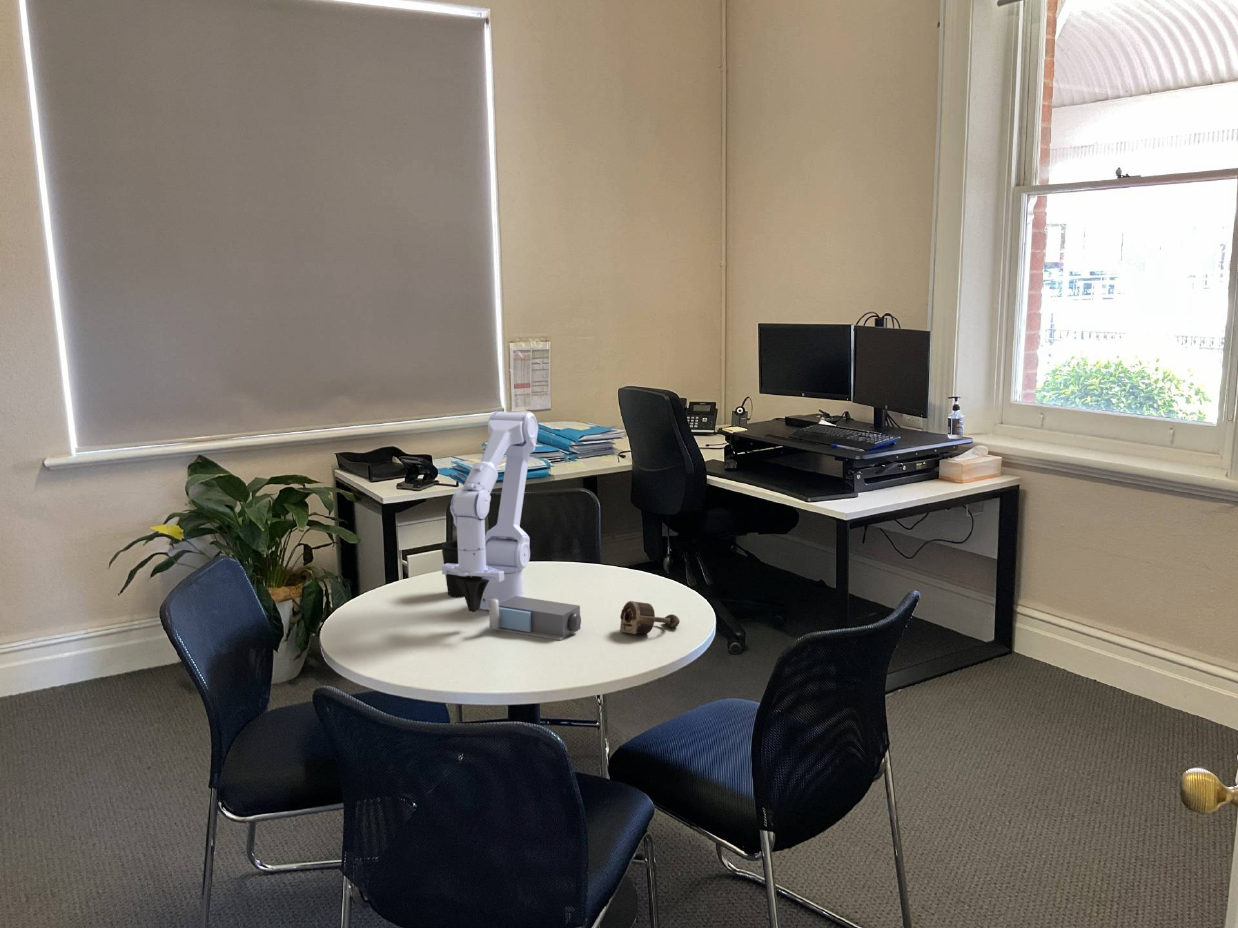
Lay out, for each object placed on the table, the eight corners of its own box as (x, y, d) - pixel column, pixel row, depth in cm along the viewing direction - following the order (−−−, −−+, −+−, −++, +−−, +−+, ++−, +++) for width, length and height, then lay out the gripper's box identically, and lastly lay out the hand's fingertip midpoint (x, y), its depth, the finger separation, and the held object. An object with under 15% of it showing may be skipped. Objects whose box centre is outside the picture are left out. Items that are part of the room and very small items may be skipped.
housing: (495, 629, 208) (494, 606, 207) (516, 618, 215) (515, 595, 214) (565, 641, 200) (565, 617, 199) (585, 629, 207) (584, 606, 206)
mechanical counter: (613, 600, 209) (618, 604, 199) (672, 591, 211) (681, 595, 201) (618, 634, 209) (623, 640, 199) (677, 625, 210) (686, 630, 200)
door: (488, 629, 205) (486, 600, 204) (496, 625, 208) (495, 596, 207) (522, 635, 201) (521, 606, 200) (531, 631, 204) (530, 601, 203)
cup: (483, 591, 234) (481, 542, 232) (461, 600, 228) (459, 550, 226) (458, 587, 238) (456, 538, 236) (436, 595, 232) (434, 545, 230)
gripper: (431, 548, 205) (434, 611, 207) (489, 555, 198) (491, 620, 201) (452, 540, 211) (454, 601, 213) (509, 547, 205) (511, 610, 207)
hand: (474, 610), depth 207 cm, fingers closed
